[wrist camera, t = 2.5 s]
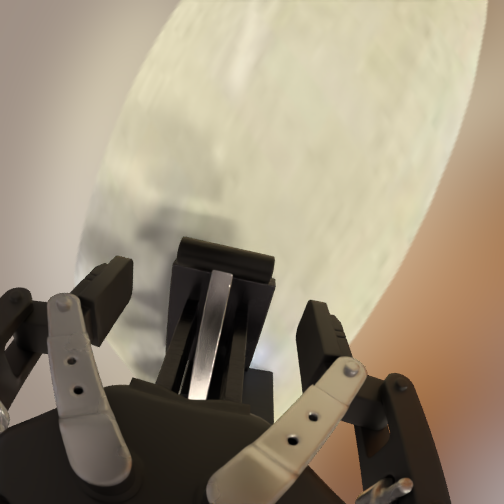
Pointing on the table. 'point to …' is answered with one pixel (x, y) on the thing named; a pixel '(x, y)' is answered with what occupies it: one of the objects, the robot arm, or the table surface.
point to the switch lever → (217, 297)
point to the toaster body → (243, 390)
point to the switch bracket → (232, 333)
